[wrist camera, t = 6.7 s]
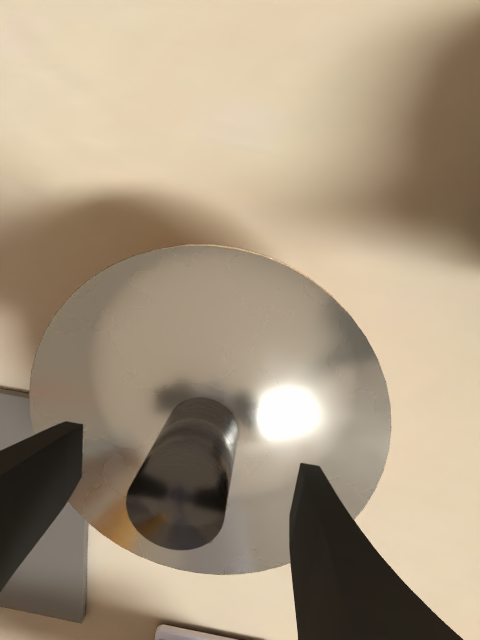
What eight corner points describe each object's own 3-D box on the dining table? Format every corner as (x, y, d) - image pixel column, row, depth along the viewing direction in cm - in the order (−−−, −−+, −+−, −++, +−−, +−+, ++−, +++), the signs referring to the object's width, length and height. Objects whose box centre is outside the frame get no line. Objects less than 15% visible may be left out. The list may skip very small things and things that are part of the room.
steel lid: (332, 589, 16) (356, 734, 11) (36, 518, 17) (-56, 630, 12) (435, 287, 12) (531, 322, 8) (50, 209, 13) (-75, 200, 8)
